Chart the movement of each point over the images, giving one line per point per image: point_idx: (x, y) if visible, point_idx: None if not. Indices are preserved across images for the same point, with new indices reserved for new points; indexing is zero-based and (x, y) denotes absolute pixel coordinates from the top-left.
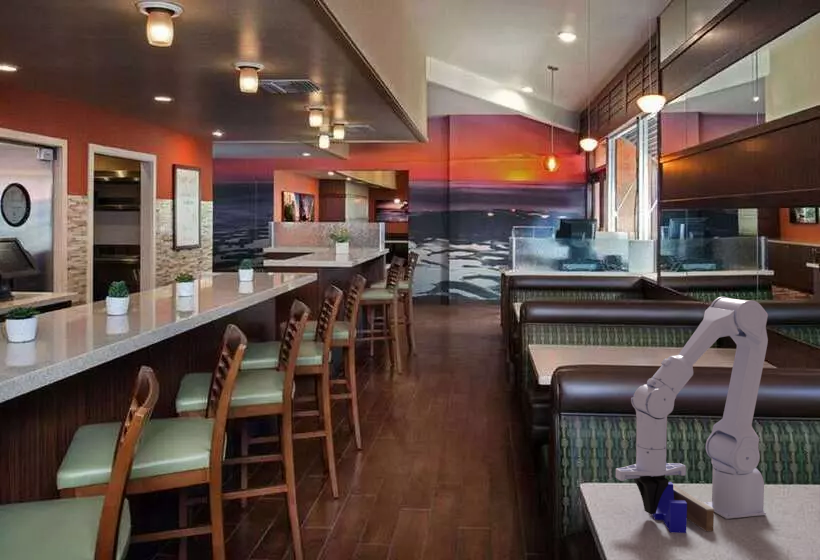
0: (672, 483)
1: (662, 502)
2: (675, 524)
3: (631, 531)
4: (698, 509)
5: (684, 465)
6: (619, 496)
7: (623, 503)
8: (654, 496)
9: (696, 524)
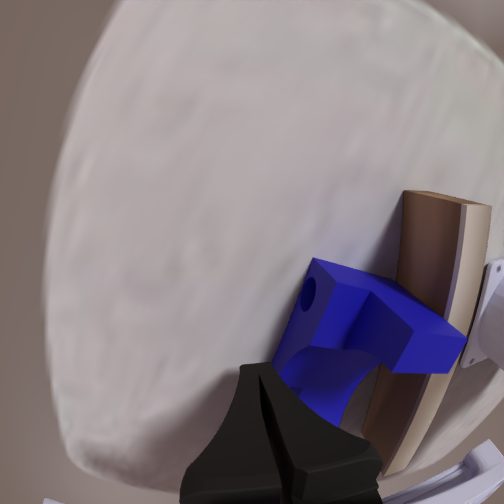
0: (455, 360)
1: (347, 354)
2: None
3: (142, 424)
4: (389, 442)
5: (490, 494)
6: (247, 75)
7: (219, 172)
8: (273, 456)
9: (371, 402)
